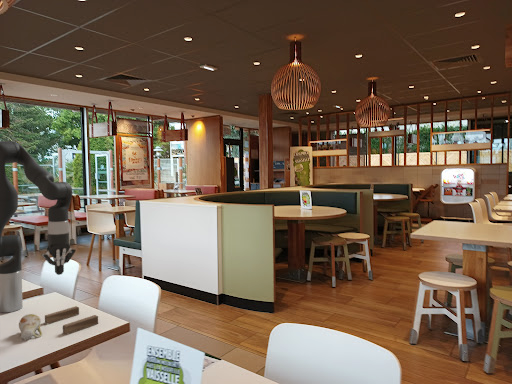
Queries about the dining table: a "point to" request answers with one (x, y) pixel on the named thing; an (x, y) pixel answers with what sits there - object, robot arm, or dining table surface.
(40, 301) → the dining table surface
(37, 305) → the dining table surface
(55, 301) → the dining table surface
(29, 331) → the mug
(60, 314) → the wooden guide rails
